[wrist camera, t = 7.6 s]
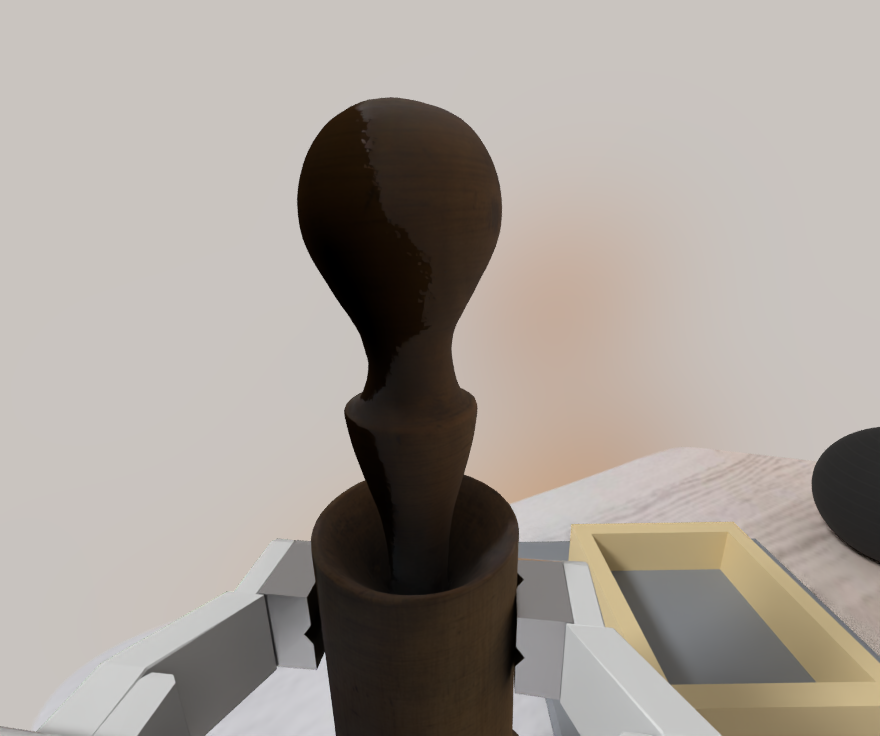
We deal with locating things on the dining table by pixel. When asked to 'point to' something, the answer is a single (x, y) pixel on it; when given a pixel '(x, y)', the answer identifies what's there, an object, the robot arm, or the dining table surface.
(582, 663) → the robot arm
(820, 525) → the dining table surface
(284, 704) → the dining table surface
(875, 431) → the speaker
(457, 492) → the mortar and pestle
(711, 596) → the holder
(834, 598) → the dining table surface
